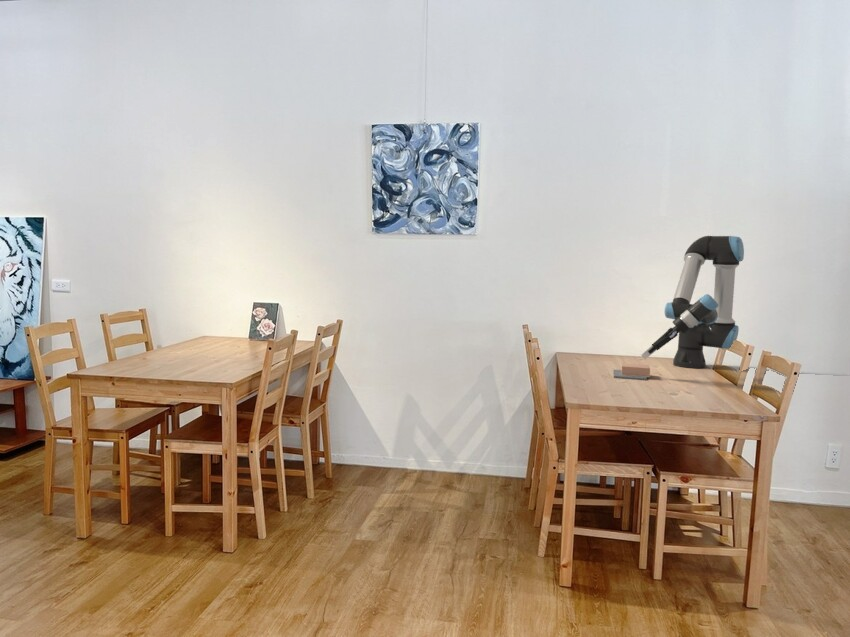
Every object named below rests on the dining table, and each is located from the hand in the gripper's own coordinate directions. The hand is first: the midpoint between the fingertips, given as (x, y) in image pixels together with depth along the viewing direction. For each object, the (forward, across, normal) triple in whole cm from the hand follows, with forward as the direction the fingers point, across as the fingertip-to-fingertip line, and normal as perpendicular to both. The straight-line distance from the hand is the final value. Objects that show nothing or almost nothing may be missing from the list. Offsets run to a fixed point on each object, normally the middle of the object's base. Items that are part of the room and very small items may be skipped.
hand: (643, 356), depth 298 cm
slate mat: (+10, 0, -3) cm, 10 cm away
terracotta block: (+2, 0, -6) cm, 7 cm away
